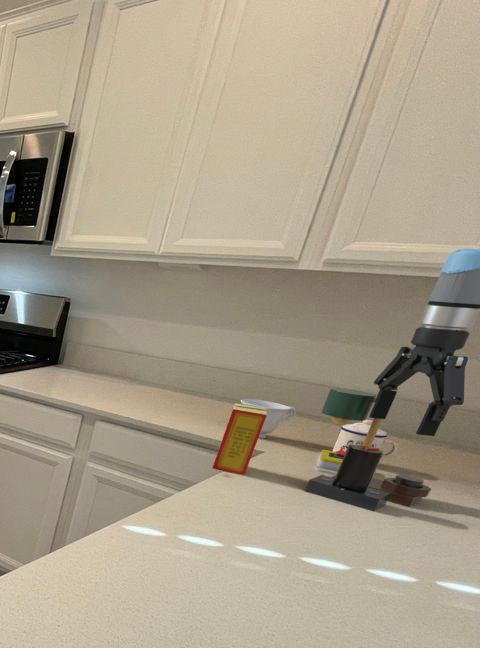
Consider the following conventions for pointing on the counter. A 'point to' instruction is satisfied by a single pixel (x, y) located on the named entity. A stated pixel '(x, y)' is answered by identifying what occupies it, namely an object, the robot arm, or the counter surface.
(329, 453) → the emergency button
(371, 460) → the black pen holder
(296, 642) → the counter surface
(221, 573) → the counter surface
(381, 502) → the dimmer panel
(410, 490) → the lamp base
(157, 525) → the counter surface
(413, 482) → the lamp button
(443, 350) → the robot arm
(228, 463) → the baking soda box
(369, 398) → the desk lamp
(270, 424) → the teacup
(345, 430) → the teacup with lid
